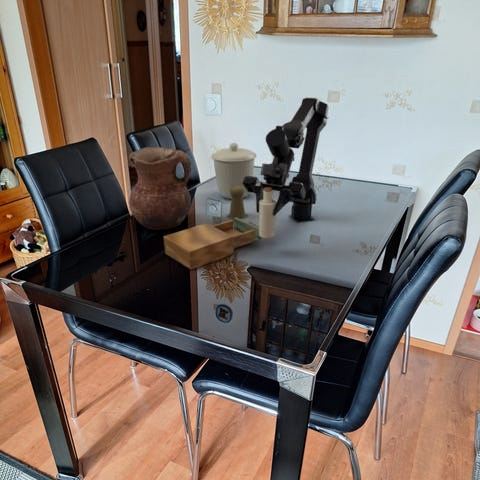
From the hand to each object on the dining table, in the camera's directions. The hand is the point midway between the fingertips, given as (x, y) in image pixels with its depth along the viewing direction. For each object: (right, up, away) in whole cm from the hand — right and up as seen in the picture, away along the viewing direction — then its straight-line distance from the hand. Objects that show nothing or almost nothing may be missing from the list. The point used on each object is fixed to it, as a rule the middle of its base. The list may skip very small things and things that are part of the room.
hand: (265, 213), depth 128 cm
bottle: (+1, -5, +5) cm, 7 cm away
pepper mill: (-9, +8, +35) cm, 37 cm away
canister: (-10, +21, +55) cm, 60 cm away
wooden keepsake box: (-20, -11, +9) cm, 25 cm away
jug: (-36, +4, +30) cm, 47 cm away
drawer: (-9, -4, +16) cm, 19 cm away
